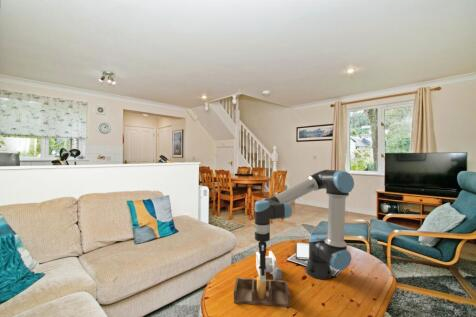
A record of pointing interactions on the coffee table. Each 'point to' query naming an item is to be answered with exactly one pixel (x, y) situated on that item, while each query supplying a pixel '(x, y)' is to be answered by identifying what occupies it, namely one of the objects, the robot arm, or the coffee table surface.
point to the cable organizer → (267, 262)
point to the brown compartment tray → (274, 292)
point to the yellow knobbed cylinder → (261, 289)
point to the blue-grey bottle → (277, 274)
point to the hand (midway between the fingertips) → (262, 273)
